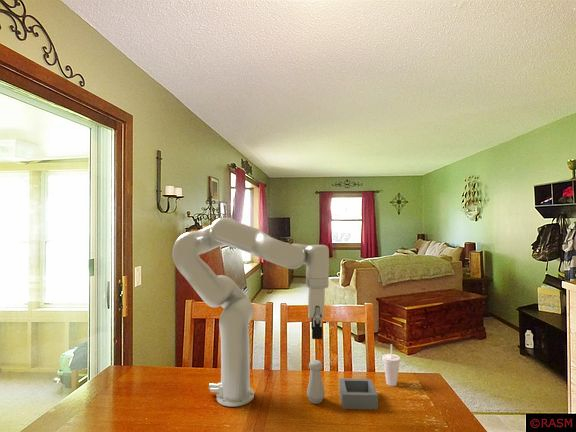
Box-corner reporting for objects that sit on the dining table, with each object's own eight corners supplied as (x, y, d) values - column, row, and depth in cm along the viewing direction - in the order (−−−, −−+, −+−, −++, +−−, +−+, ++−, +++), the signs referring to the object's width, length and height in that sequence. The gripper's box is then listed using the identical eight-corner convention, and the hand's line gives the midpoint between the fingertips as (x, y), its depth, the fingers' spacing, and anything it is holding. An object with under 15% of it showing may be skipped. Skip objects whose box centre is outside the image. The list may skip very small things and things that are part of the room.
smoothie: (401, 381, 128) (401, 343, 128) (399, 389, 122) (399, 349, 122) (383, 378, 130) (383, 341, 131) (381, 385, 125) (380, 346, 125)
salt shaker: (323, 406, 111) (323, 365, 111) (305, 404, 112) (305, 364, 112) (325, 397, 117) (324, 358, 117) (308, 395, 118) (308, 357, 118)
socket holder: (342, 408, 110) (342, 394, 110) (339, 391, 121) (339, 378, 121) (378, 409, 109) (377, 395, 109) (371, 392, 120) (371, 379, 120)
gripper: (305, 277, 124) (305, 325, 124) (305, 287, 106) (305, 342, 106) (326, 277, 123) (326, 325, 123) (330, 287, 106) (329, 343, 106)
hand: (316, 333), depth 115 cm, fingers open, 9 cm apart
